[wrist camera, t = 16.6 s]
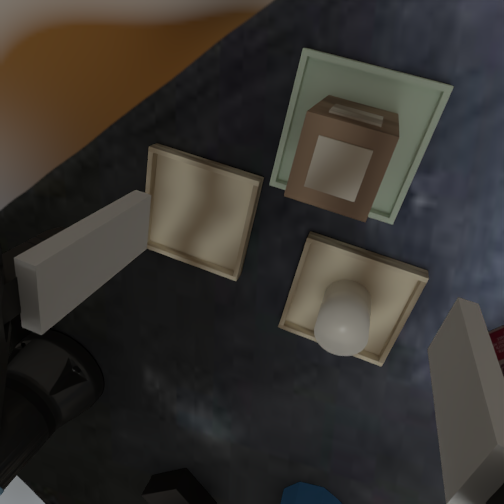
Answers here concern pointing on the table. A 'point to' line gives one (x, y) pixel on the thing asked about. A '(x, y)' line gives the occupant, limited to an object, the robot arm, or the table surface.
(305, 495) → the water bottle
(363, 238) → the table surface
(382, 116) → the letter block
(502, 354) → the juice carton
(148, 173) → the tray
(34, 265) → the robot arm
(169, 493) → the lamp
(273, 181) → the tray
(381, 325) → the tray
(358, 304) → the white dome
